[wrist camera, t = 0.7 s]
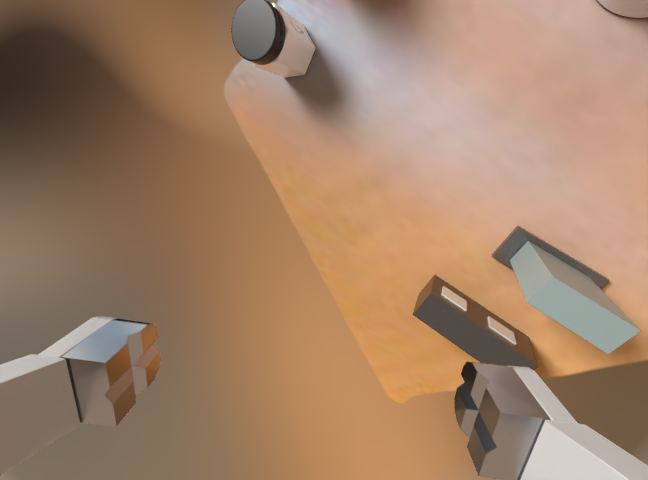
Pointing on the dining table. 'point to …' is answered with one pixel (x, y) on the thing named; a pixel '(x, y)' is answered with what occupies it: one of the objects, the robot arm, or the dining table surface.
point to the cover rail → (522, 236)
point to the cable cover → (571, 298)
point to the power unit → (472, 326)
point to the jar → (271, 38)
